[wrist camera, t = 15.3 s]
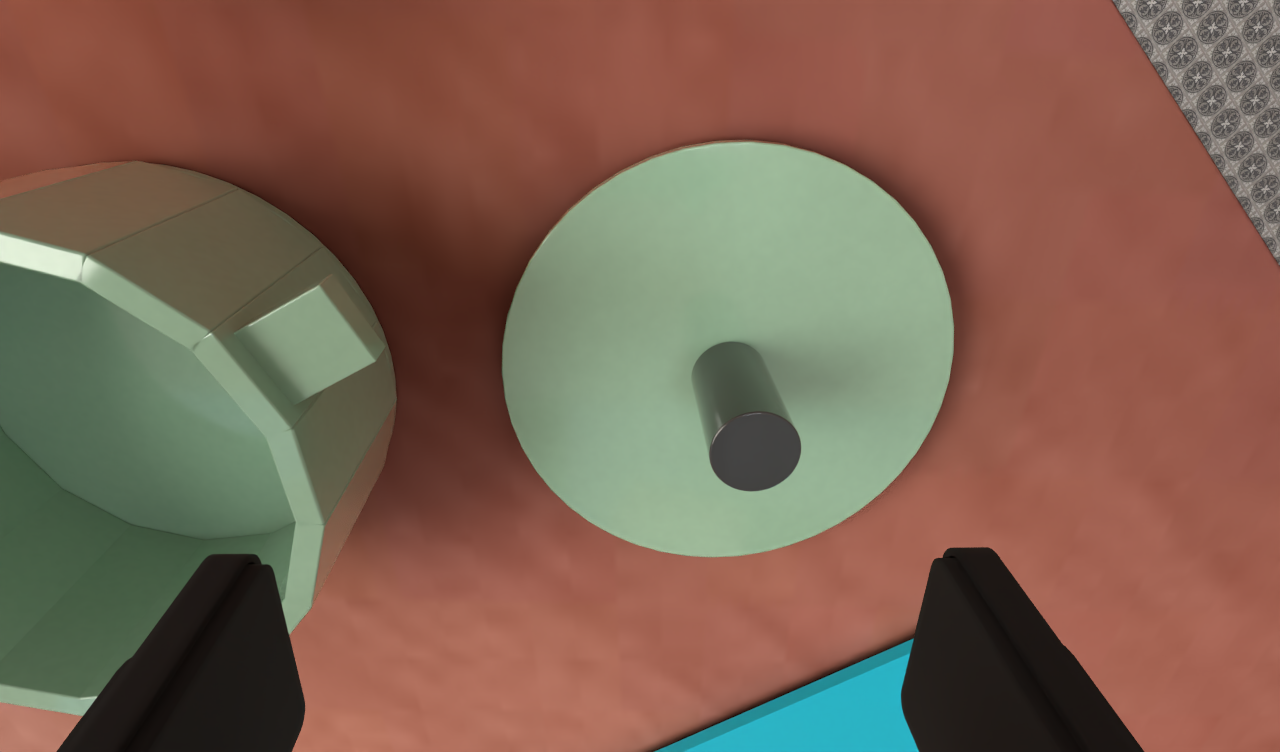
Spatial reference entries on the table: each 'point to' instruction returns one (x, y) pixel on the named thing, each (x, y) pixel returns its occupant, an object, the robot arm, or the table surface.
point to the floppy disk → (822, 715)
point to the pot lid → (727, 348)
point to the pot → (167, 410)
